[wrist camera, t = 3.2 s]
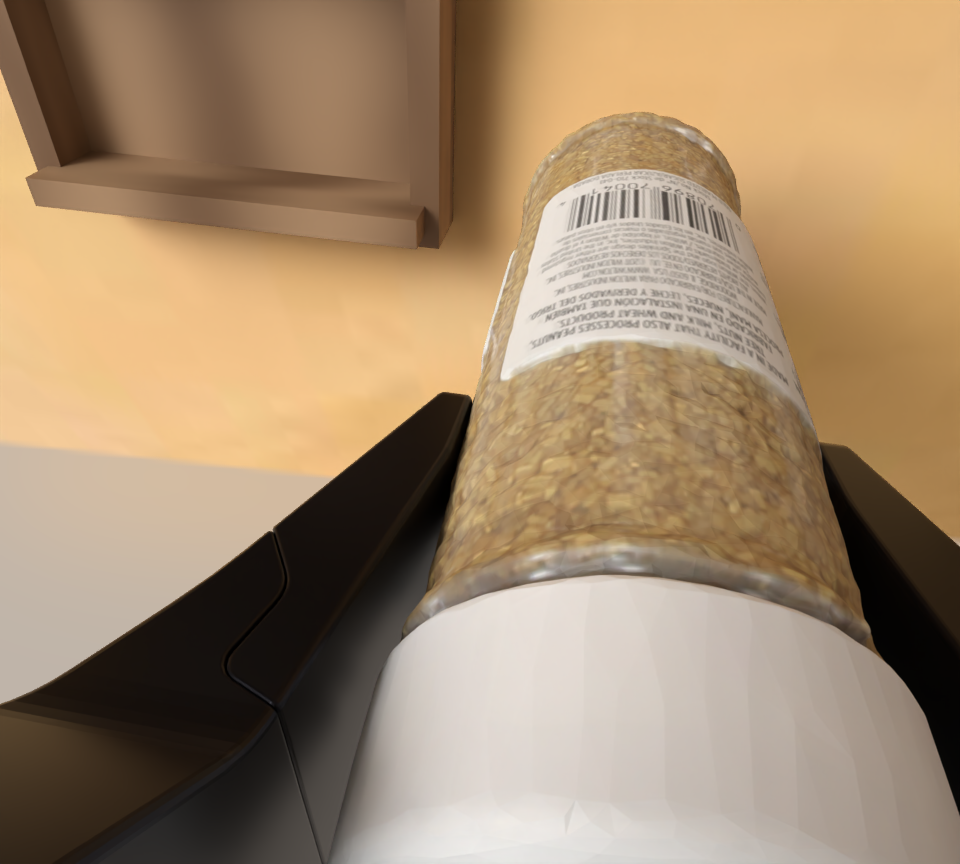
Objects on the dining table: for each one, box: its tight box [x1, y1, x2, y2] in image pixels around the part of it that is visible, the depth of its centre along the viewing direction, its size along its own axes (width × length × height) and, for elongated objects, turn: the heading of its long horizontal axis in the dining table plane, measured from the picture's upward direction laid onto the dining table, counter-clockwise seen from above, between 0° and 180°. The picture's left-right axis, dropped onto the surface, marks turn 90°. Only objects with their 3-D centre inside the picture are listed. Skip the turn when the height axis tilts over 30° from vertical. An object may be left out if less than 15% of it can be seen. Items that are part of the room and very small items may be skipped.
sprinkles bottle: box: [327, 112, 960, 864], centre depth 10 cm, size 5×5×13 cm
